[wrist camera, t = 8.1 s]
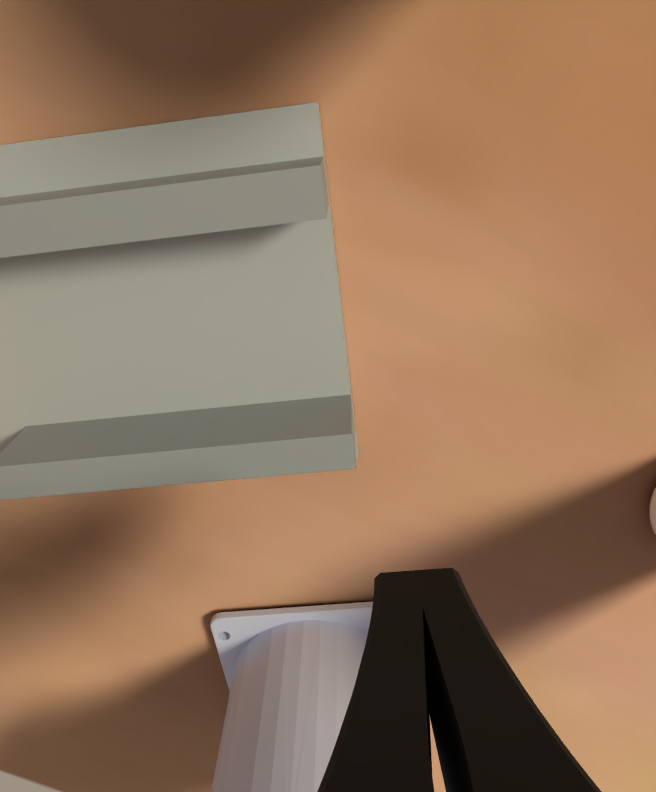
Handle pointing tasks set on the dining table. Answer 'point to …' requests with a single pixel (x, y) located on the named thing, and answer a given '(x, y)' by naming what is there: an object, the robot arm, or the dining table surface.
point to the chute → (171, 307)
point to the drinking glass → (653, 511)
